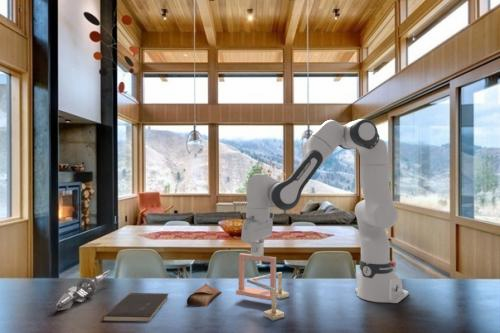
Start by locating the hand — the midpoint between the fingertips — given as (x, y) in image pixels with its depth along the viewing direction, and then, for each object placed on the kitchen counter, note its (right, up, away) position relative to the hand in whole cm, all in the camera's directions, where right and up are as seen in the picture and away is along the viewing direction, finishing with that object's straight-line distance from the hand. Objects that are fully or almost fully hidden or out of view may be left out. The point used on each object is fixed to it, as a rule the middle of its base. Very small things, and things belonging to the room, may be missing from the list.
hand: (257, 251), depth 135 cm
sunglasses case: (-20, -20, +4) cm, 29 cm away
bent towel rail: (+7, -19, -4) cm, 21 cm away
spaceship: (-68, -20, +4) cm, 71 cm away
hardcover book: (-43, -20, -7) cm, 48 cm away
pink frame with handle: (0, -17, -1) cm, 17 cm away
